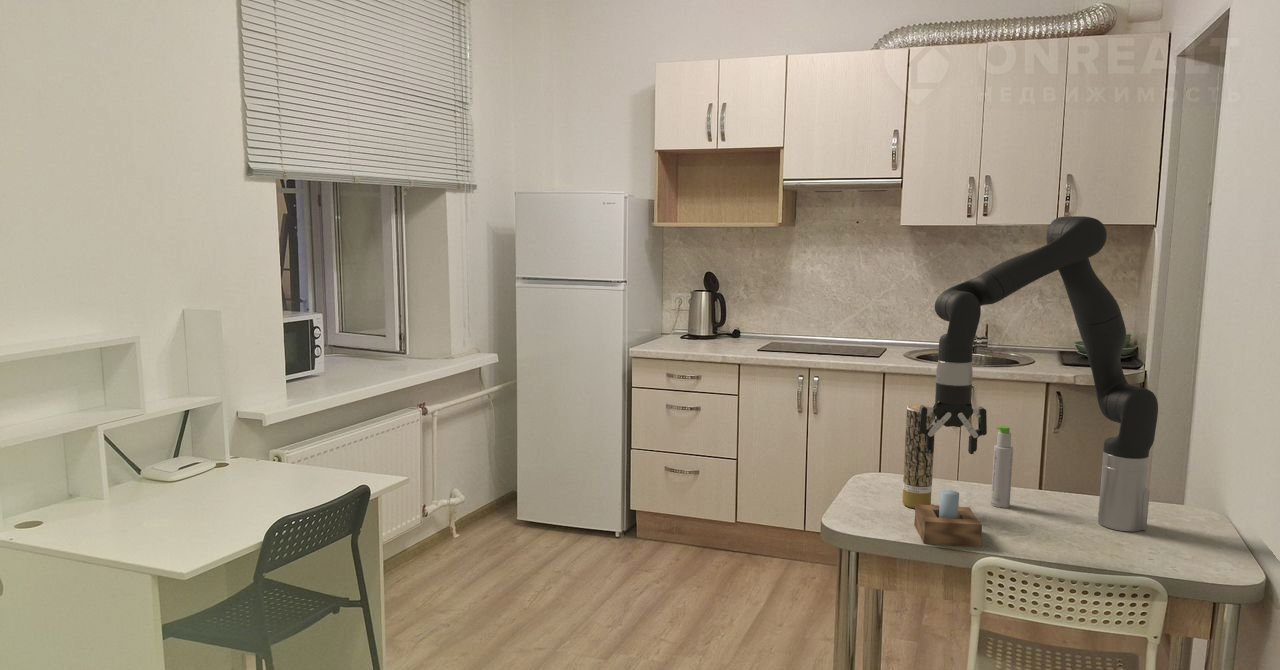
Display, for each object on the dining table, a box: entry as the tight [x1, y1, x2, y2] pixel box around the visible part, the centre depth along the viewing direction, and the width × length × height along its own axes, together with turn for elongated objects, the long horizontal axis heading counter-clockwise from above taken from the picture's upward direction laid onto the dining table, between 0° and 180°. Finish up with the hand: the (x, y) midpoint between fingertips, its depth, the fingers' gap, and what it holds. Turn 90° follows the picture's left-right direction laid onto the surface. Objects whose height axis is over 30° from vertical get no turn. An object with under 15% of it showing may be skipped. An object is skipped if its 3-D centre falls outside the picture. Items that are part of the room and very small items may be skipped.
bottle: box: [990, 425, 1014, 509], centre depth 214 cm, size 4×4×20 cm
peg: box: [939, 489, 960, 519], centre depth 193 cm, size 4×4×10 cm
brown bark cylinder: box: [902, 404, 936, 509], centre depth 213 cm, size 7×7×25 cm
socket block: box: [913, 504, 983, 548], centre depth 193 cm, size 12×12×5 cm
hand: (950, 452), depth 191 cm, fingers open, 8 cm apart
